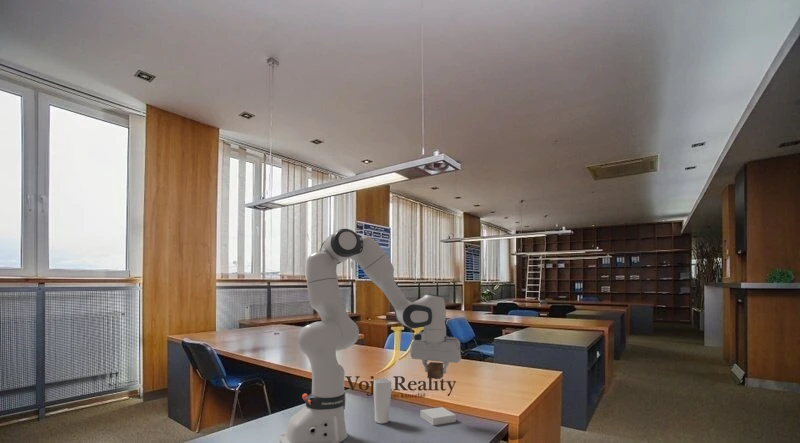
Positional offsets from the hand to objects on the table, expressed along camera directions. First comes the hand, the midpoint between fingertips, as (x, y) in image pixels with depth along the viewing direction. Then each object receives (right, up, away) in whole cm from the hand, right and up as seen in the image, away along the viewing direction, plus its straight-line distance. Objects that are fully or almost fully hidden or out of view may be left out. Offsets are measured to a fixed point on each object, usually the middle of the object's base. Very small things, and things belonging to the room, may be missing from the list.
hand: (435, 372), depth 161 cm
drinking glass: (-21, -17, -4) cm, 27 cm away
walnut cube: (0, -2, 0) cm, 2 cm away
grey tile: (+1, -18, -1) cm, 18 cm away
